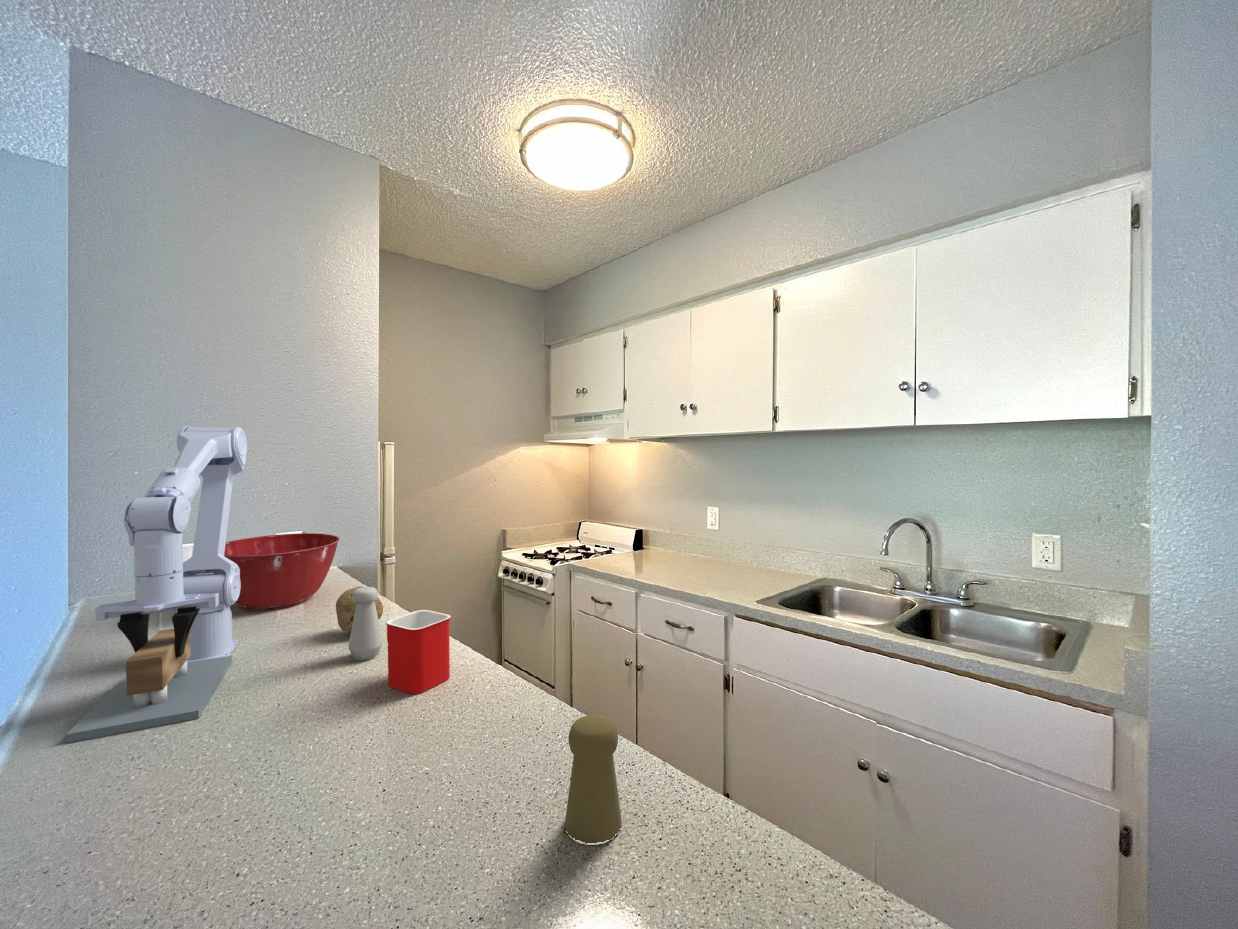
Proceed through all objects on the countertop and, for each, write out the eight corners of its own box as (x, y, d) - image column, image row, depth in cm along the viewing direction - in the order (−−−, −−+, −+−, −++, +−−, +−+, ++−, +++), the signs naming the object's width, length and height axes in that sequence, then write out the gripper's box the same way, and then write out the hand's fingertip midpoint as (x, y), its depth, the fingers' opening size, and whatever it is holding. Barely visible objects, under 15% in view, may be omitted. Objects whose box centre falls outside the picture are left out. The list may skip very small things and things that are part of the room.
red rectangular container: (455, 677, 89) (455, 616, 88) (416, 697, 81) (415, 631, 81) (408, 663, 94) (408, 605, 94) (367, 680, 87) (367, 618, 87)
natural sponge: (385, 624, 115) (385, 580, 114) (380, 638, 106) (380, 590, 106) (340, 628, 112) (339, 583, 112) (331, 643, 104) (330, 594, 103)
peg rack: (131, 677, 88) (131, 656, 88) (232, 662, 94) (231, 642, 94) (66, 743, 68) (65, 716, 68) (198, 718, 75) (198, 693, 75)
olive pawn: (565, 805, 57) (565, 708, 56) (619, 802, 57) (619, 705, 57) (563, 848, 51) (563, 739, 50) (624, 844, 51) (624, 736, 51)
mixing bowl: (296, 621, 117) (295, 554, 116) (172, 620, 117) (171, 553, 116) (360, 587, 145) (360, 533, 144) (261, 587, 145) (259, 533, 145)
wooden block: (160, 659, 86) (159, 630, 86) (190, 655, 88) (189, 626, 88) (126, 695, 74) (125, 661, 74) (162, 690, 76) (161, 656, 76)
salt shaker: (368, 664, 94) (367, 593, 93) (341, 661, 95) (340, 591, 94) (389, 651, 99) (388, 585, 99) (363, 649, 101) (362, 583, 100)
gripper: (84, 584, 74) (87, 676, 74) (210, 573, 80) (212, 658, 81) (106, 573, 80) (108, 658, 81) (221, 564, 87) (222, 643, 87)
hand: (161, 657), depth 81 cm, fingers closed on wooden block, 4 cm apart
